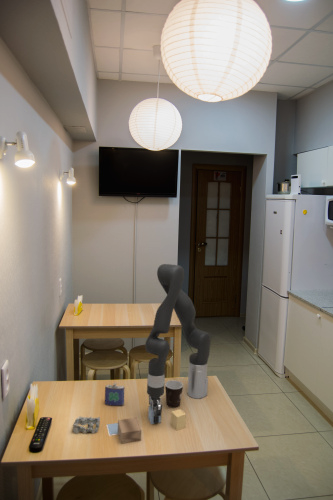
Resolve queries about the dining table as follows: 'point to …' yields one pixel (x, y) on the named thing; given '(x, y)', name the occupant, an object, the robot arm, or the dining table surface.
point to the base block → (129, 430)
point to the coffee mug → (173, 393)
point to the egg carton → (84, 421)
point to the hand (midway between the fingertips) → (154, 419)
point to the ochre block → (178, 419)
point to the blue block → (152, 415)
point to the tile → (112, 429)
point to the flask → (114, 395)
